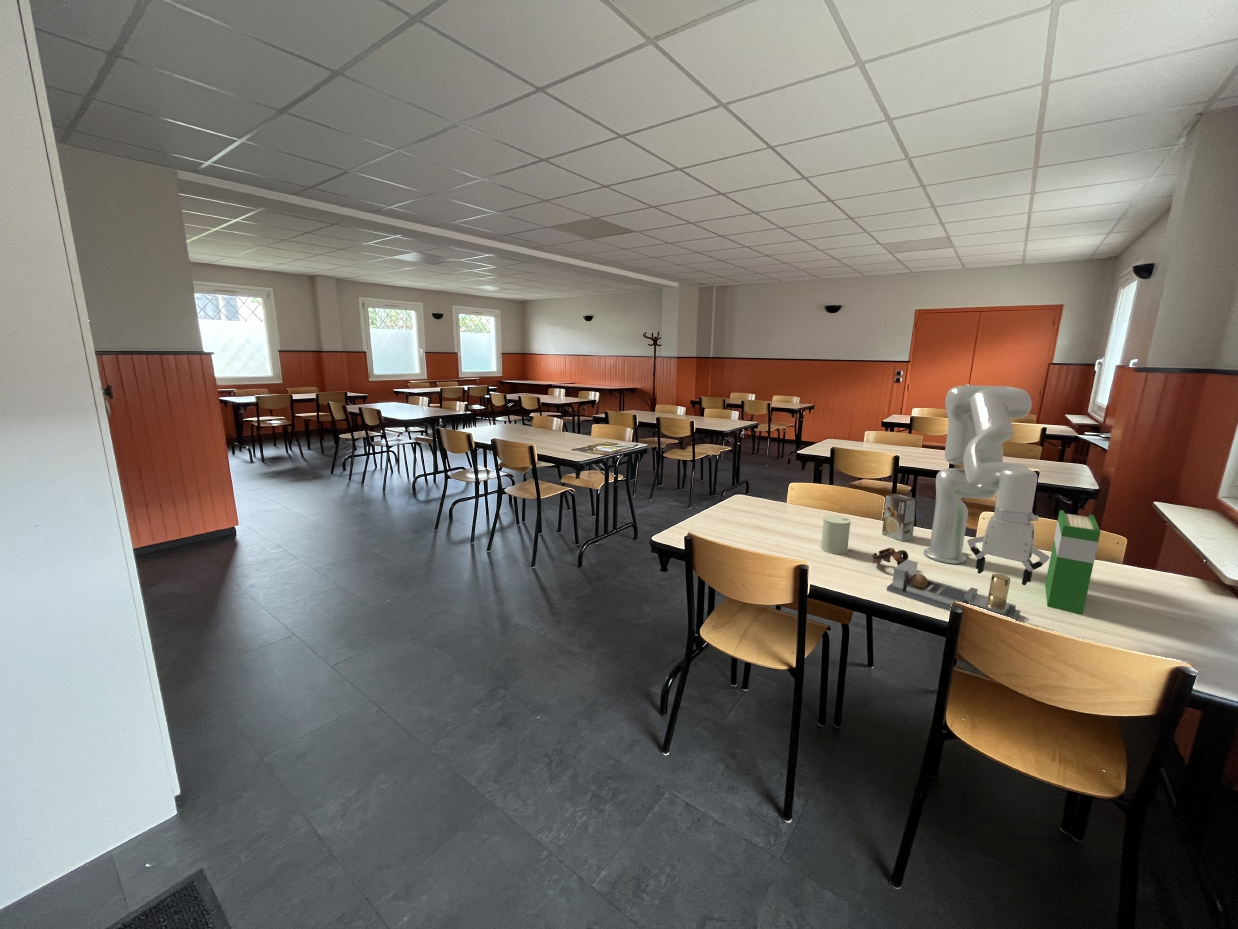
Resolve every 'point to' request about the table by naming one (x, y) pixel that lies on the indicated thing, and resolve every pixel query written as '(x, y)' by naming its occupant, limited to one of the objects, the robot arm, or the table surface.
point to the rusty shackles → (888, 553)
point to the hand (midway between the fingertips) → (1001, 577)
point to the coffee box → (899, 517)
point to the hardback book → (1071, 562)
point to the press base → (930, 590)
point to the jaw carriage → (991, 595)
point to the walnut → (919, 581)
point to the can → (835, 534)
